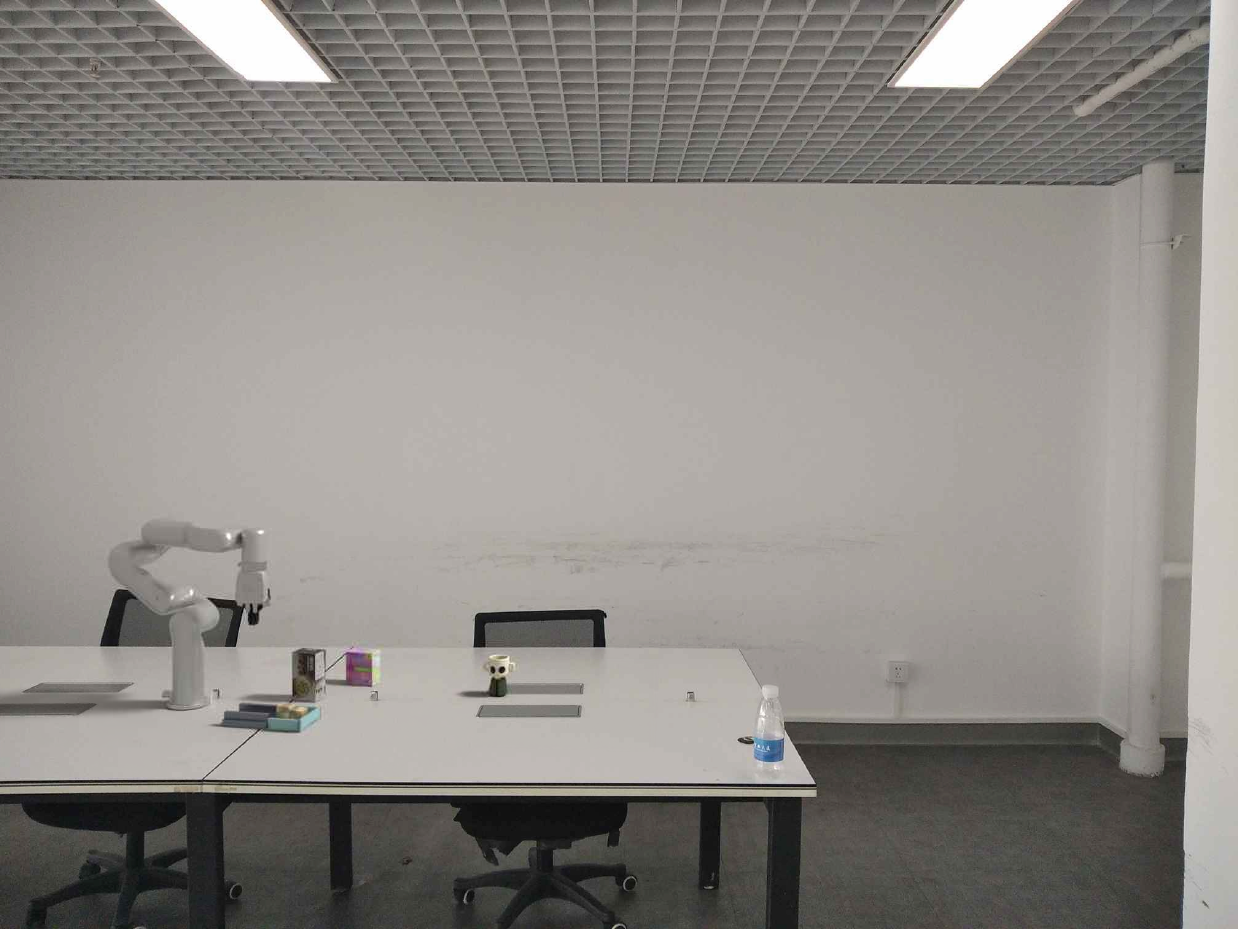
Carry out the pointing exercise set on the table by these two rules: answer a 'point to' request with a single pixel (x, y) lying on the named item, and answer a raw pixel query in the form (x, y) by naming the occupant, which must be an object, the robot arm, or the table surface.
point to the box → (362, 667)
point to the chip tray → (295, 721)
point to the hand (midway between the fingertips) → (253, 624)
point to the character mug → (498, 673)
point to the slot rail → (250, 716)
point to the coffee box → (308, 674)
